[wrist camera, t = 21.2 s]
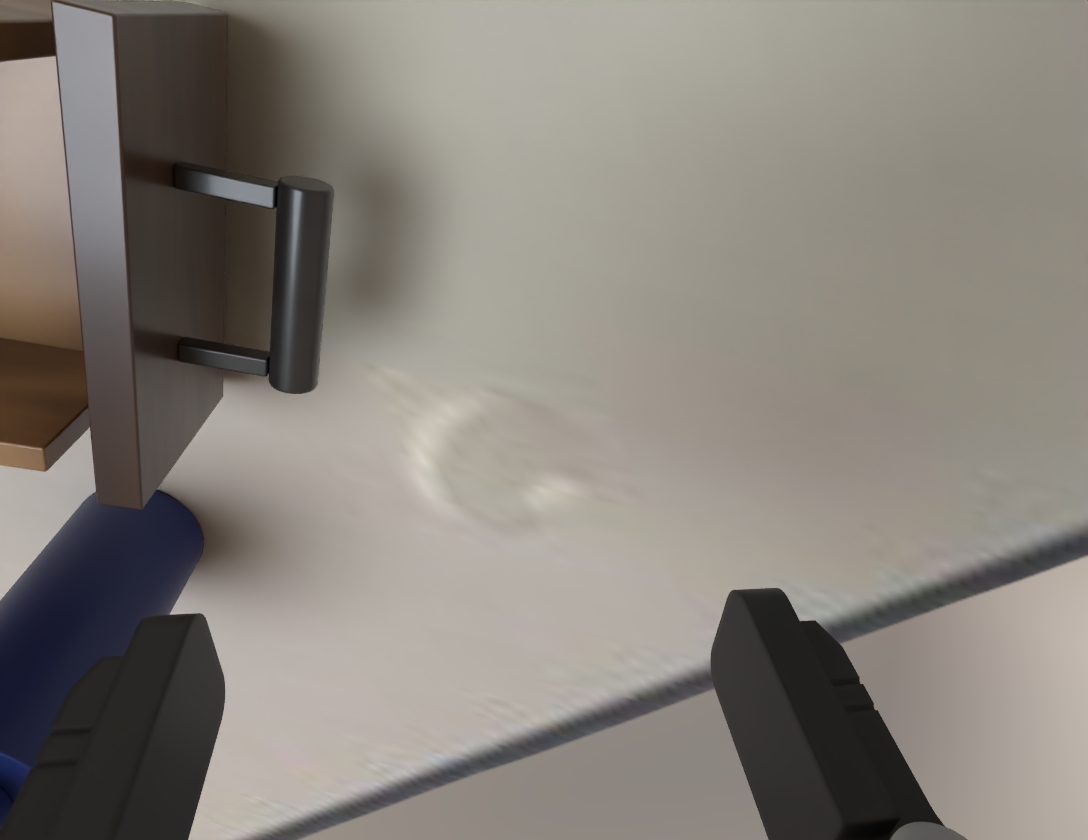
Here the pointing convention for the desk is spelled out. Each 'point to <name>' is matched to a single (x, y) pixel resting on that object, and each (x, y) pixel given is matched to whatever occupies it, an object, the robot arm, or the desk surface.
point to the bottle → (83, 613)
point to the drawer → (132, 239)
